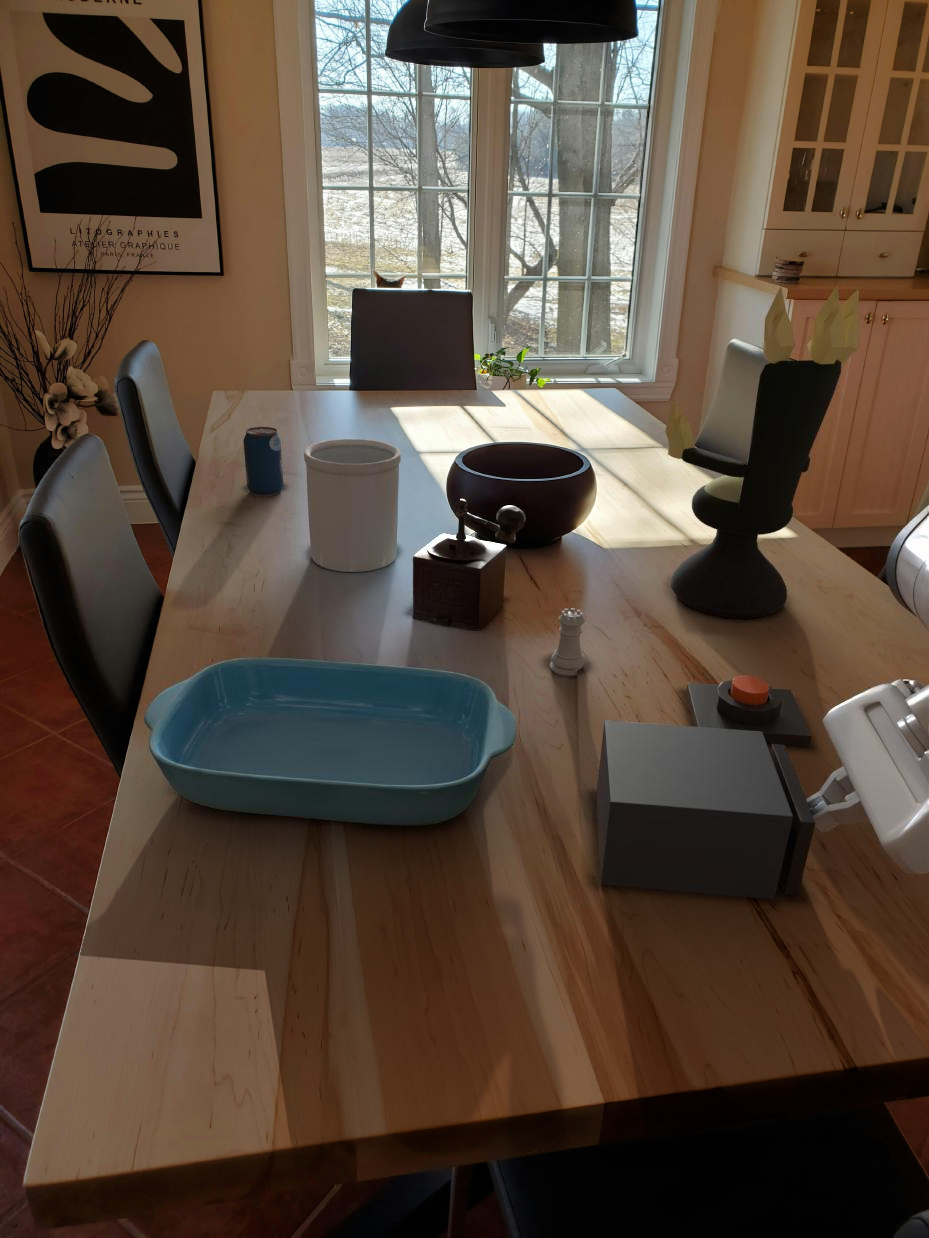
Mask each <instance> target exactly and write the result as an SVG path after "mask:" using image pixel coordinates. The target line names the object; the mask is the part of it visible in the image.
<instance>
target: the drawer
mask: <svg viewBox="0 0 929 1238" xmlns="http://www.w3.org/2000/svg"><path fill="white" fill-rule="evenodd" d="M769 752H770V754H771V757H772V760H773V763H774V765H775V768H776V771H777V774H778V776H779V779H780V782H781V785H782V788H783V790H784V793H785V796H786V799H787V801H788V804H789V807H790V810H791V812H792V815H793V819H792V824H791V828H790V833H789V837H788V841H787V846H786V850H785V854H784V859H783V863H782V868H781V872H780V876H779V881H778V882H779V883H780V886H781V890H782V893H783V895H784V896H793V897H794V896H795V897H798V896H799V892H800V889H801V885H802V881H803V876H804V873H805V868H806V864H807V860H808V855H809V852H810V848H811V843H812V838H813V836H814V831H815V828H816V826H815V820H814V818H813V815H812V813H811V810H810V808H809V805H808V803H807V800H806V799H807V798H806V795H805V793H804V790H803V787H802V785H801V783H800V780H799V778H798V775H797V772H796V770H795V767H794V765H793V762H792V759H791V757H790V754H789V752H788V750H787V747H786V745H776V744H771V748H770V751H769Z"/></svg>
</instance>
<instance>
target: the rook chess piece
mask: <svg viewBox="0 0 929 1238" xmlns="http://www.w3.org/2000/svg"><path fill="white" fill-rule="evenodd" d="M575 610H576V608H574V607H571V608H570V611H569V608H564V609H563V610H562V611H561V614H560V615H559V616H558V619H557V620H558V621H559V623H560V625H561V627H559V629H558V630H559V632H560V636H559V641H558V644H557V648H556V649H555V650H554V653H552V655H551V657H550V661H551V662H550V663H549V667H550V669H551V670H552V672H553V673H554V674H555V675H557V676H560V677H563V678H576V677H578V671H580V670H582V668H583V667H584V665H586V657H585V656H584V655H583V651H582V648H581V634H582V633H583V630H582V628H581V627H582V625H583V624H584V623H585V622H586V619H585V617H584V616H583V612H582V610H581V609H577V610H576V611H575Z"/></svg>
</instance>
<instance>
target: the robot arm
mask: <svg viewBox="0 0 929 1238" xmlns="http://www.w3.org/2000/svg"><path fill="white" fill-rule="evenodd" d="M885 575H886V581H887V584H888V587H889V590H890V592H891V594H892V596H893V597H894V598H895V600H896V601H897V603H898V604H899V605H901V607H903V608H904V609H905V610H906V611H908V612H909V613H911V614H912V615H913V616H915V617H916V618H917V619H918V620H919V622H921V624H922V625H923V626H924V627H925V629H926V630H928V631H929V504H928V505H927V506H926V507H925V508H923V510H921V511H920V513H918V514H917V515H916V516H915V517H913V518H912V519H911V520H910V521H909V522H908V523H907V524H906V525H905V526H904V527H903V528H902V530H901V531H900V532H898V534H897V535H896V537H895V538H894V540H893V541H892V543H891V546H890V547H889V551H888V553H887V557H886V562H885ZM822 725H823V727H824V729H825V731H826V733H827V735H828V738H829V739H830V741H831V744H832V745H833V748H834V750H835V752H836V754H837V756H838V758H839V760H840V762H841V764H842V766H840V767H839V768H838V769H836V770H834V771H833V772H832V773H831V774H830V775H829V777H828V778H827V779H826V781H825V782H824V783H823V785H822V786H821V788H820V789H819V791H817V792H816V793H814V794H812V795H811V796H809V797H807V798H806V800H807V803H808V805H809V808H810V810H811V813H812V815H813V818H814V820H815V828H816V829H817V830H818V831H820V833H826V832H829V831H831V830H832V829H834V828H835V827H837V826H839V825H852V824H863V823H865V822H867V821H869V822H870V824H871V826H872V828H873V830H874V832H875V835H876V836H877V839H878V841H879V843H880V845H881V847H882V850H883V851H884V852H885V853H886V855H887V856H888V857H889V858H890V859H891V860H892V861H893V863H894V864H895V865H896V866H897V867H898V868H899V869H900V870H901V871H902V872H903V873H905V874H908V875H925V874H928V873H929V684H927V685H926V686H924V684H922V683H921V682H920V681H919V680H918V679H901V678H899V679H896V680H893V681H892V682H890V683H888V682H887V683H881V684H878V685H875V686H873V687H870V688H868V689H866V690H864V691H862V692H860V693H858V694H856V695H854V696H852V697H850V698H849V699H847V700H844V701H843V702H840V703H838V705H836V706H834V707H832V708H831V709H830V710H828V712H827V713H826V715H825V716H824V717H823V719H822ZM843 799H844V802H841V801H842V800H843Z"/></svg>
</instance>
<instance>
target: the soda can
mask: <svg viewBox="0 0 929 1238" xmlns="http://www.w3.org/2000/svg"><path fill="white" fill-rule="evenodd" d="M242 441H243V442H242V443H243V453H244V465H245V466H244V468H245V478H246V479H245V480H246V487H247V489H248V490H249V492H250V493H251V495H254V496H257V497H272V496H277V495H279V494H280V493H281V492H282V491H283V488H284V485H285V482H284V467H283V454H282V438H281V437H280V435H279V433H278V429H277V428H275V427H271V426H255V427H250V428H248V429H246V430H245V435H244V438H243V440H242Z"/></svg>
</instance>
